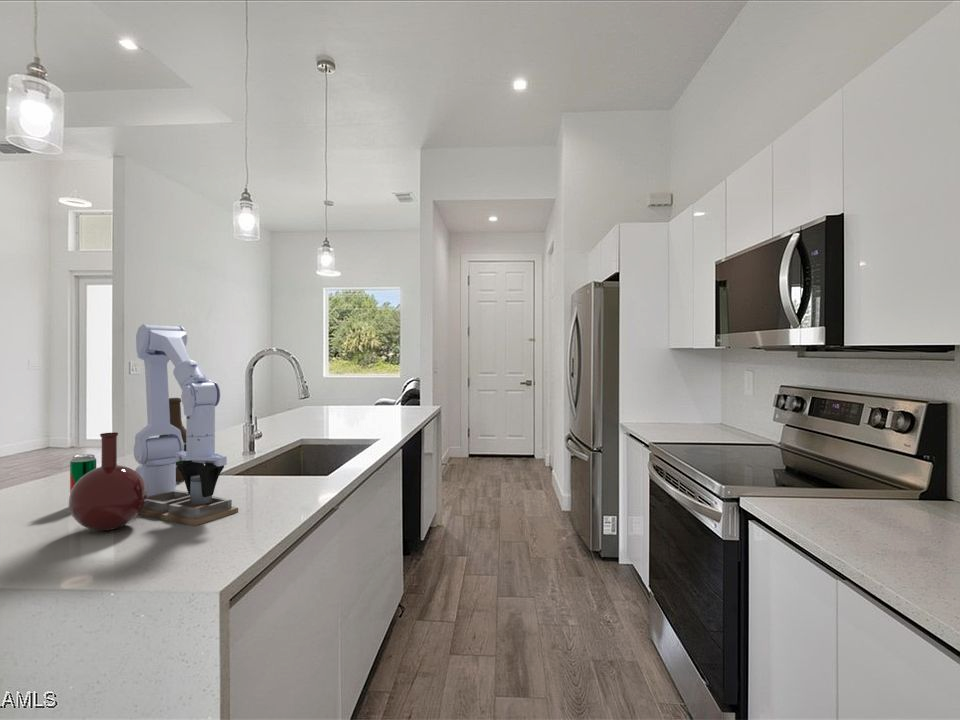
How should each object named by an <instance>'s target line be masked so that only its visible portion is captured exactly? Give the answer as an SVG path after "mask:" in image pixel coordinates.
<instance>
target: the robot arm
mask: <svg viewBox="0 0 960 720" xmlns="http://www.w3.org/2000/svg"><path fill="white" fill-rule="evenodd" d="M135 343H136V344H135V345H136V346H135V347H136V353H137V355H136V356H137V358H138V359H140V360H142V361H143V363H144V364H143V365H144V375H145V397H146V399H145V400H146V415H147V418H146V419H147V420H146V421H147V425H146V426H144V427H143V428H142V429H141V430H139V431H138V432H137V433H136V434H135V436H134V446H133V457H134V459H135V462H136V463H138V465H137V467H136V468H135V469H134V471H136V472H137V473H138V474H139V475H140V476H141V477H142V479H143V480H144V482H145V485H146V489H147V496H146V497H148V496H152V495H156V494H160V493H164V492H168V491H172V490H177V487H176V485H177V484H176V483H177V482H176V462H178V461H181V460H182V461H183V463H182V464H178V465H177V468H178V469H179V471H180V472H181V474H182V476H183V478H184V481H183V482H184V483H185V487H186V492H188V494H190V482H191V481H190V477H191V476H192V475H196V474H199V476H200V479H201V487H202V495H203V497H208V496H214V493H215V488H216V485H217V482H218V479H219V477H220V474H221V473H222V472H223V470H224V468H225V466H226V465H227V464H228V462H227V460H228V459H227V456H226V455H222V454H219V453H217V452H216V407H217V406H218V405H219V403H220V401H221V400H220V399H221V388H220V386H219V383H218V382H216V381H214V380H213V381H212V379H208V377H207V375H206V374H205V373H204V370H203V369H202V367H201V365H200V364H199V362H198V361H195V360H192V358H191V356H190V355H189V351H188V349H187V343H188V332H187V330H186V328H185V327H184V326H182V325H179V326H177V325H176V326H175V325H173V326H172V325H156V324H155V325H154V324H145V323H142V324H141V325H140V326H138V329H137V331H136V334H135ZM170 361H171V363H172V365H173V366H174V367H173V372H172V373H173V376H174V378H175V380H176V381H177V384H178V385H179V388H180V389H181V395H180V398H181V403H182V406H183V414H184V416H186V420H185V421H186V423H185V424H186V426H185V429H186V451H184V443H183V440H182V436H181V431H180V430H179V429H178V428H176V427H174V426H173V425H171V424H170V412H169V398H170V395H169V375H168V372H169V371H168V363H169V362H170ZM160 435H169V436H166V437H159V436H160ZM155 436H158V437H155Z"/></svg>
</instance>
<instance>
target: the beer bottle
mask: <svg viewBox="0 0 960 720" xmlns="http://www.w3.org/2000/svg"><path fill="white" fill-rule="evenodd" d="M181 403H182V399H181V397H169V412H170V424H171V425H173V426H174V427H176V428H178V429H179V430H180V431H181V436H182V440H183V443H184V451H186V427H185V426H184V425H183V422H182V410H181ZM166 436H169V435H158V437H166ZM182 463H183V461H182V460H181V461H178V462H176V483H179V482H185V481H184V478H183V476H182V474H181V472H180V471H179V469H178V468H177V465H178V464H182Z"/></svg>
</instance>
